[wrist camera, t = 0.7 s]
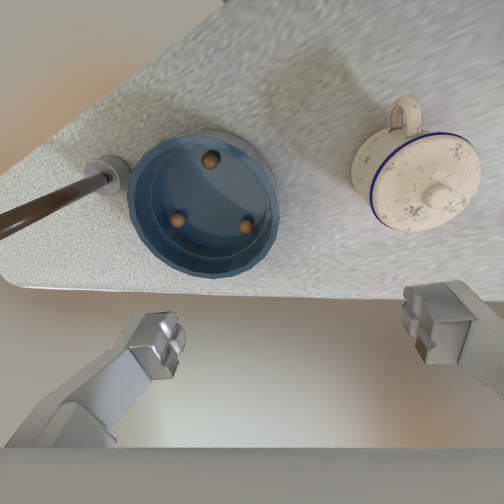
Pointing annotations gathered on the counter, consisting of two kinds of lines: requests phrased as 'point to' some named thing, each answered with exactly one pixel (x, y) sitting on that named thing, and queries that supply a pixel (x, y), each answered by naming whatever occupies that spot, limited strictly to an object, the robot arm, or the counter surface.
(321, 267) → the counter surface
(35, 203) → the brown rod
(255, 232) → the bowl
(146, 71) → the counter surface
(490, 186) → the counter surface
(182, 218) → the bead
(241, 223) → the bead
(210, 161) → the bead
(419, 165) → the teacup with lid
